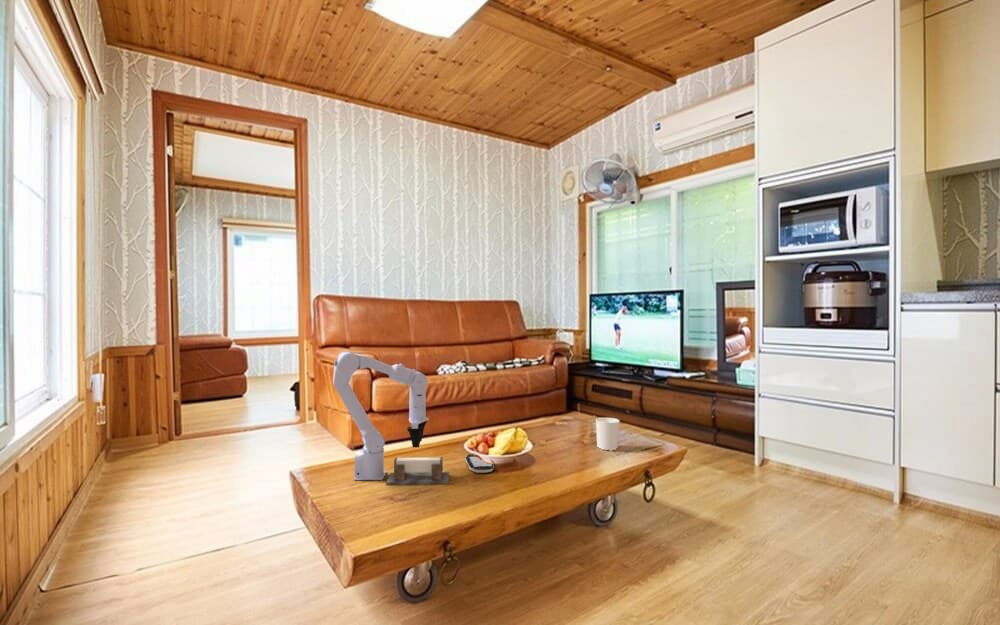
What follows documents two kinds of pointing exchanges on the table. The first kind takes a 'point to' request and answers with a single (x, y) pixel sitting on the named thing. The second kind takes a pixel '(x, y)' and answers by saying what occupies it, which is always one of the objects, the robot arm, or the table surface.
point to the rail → (419, 464)
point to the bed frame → (417, 476)
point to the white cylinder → (607, 433)
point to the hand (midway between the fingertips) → (417, 444)
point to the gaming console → (478, 465)
